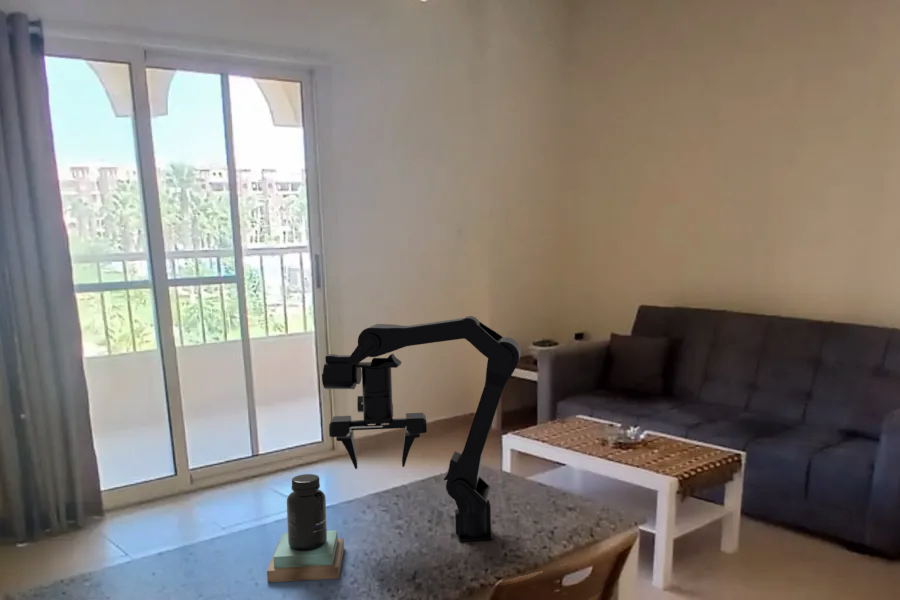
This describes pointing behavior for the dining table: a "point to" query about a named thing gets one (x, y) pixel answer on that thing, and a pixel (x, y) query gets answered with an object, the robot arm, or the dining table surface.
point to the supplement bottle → (306, 514)
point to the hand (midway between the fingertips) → (379, 467)
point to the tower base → (307, 570)
